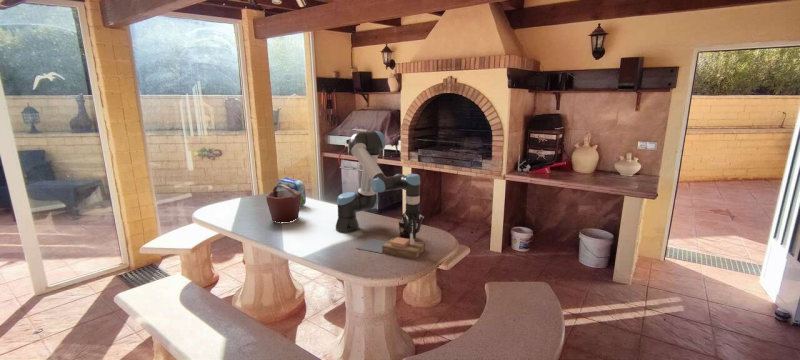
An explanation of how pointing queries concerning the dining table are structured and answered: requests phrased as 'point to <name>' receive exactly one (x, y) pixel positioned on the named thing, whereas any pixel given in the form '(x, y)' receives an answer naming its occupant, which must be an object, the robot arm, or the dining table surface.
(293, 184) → the lunch box
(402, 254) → the block
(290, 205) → the bucket
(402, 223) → the coffee mug
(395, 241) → the tile
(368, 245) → the mat
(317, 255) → the dining table surface
